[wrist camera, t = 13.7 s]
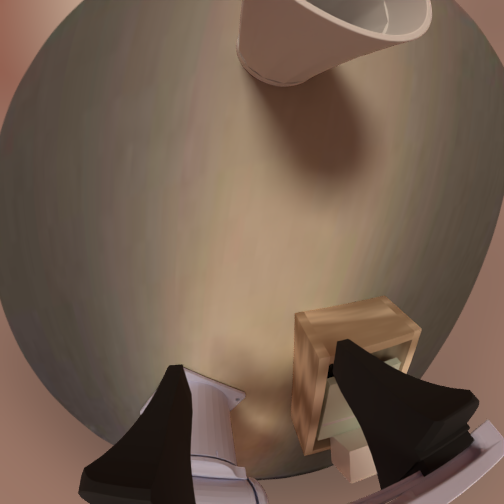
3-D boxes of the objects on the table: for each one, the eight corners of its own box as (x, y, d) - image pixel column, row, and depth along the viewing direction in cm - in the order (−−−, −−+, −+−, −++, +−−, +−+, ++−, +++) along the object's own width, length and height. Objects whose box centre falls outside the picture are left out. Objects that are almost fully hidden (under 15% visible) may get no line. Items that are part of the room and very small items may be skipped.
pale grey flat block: (363, 398, 26) (377, 421, 22) (307, 414, 25) (318, 441, 22) (380, 338, 23) (401, 363, 19) (314, 355, 22) (330, 385, 18)
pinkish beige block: (364, 451, 22) (388, 468, 17) (331, 462, 22) (350, 483, 16) (363, 422, 23) (388, 437, 18) (329, 433, 23) (349, 451, 18)
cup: (318, 14, 15) (399, -61, 4) (335, 97, 18) (451, 61, 7) (218, 13, 14) (235, -95, 3) (230, 102, 17) (264, 27, 6)
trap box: (358, 395, 29) (380, 431, 23) (289, 413, 28) (304, 455, 22) (382, 293, 24) (421, 329, 18) (293, 310, 23) (319, 358, 17)
